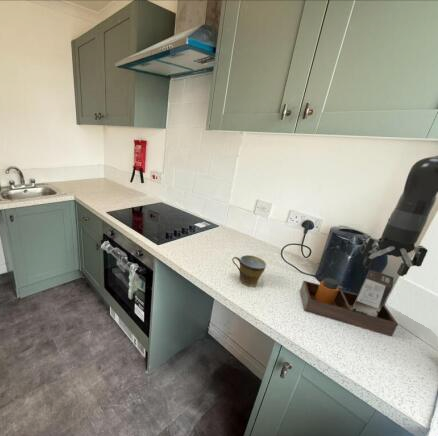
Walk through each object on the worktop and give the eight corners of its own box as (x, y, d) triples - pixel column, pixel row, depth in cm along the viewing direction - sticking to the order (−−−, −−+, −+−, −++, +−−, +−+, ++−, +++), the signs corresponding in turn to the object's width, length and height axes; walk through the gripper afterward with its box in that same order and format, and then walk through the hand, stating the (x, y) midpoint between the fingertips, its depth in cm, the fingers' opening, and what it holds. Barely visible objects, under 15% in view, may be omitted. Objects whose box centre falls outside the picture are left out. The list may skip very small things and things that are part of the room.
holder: (299, 292, 98) (303, 280, 96) (375, 313, 89) (381, 300, 87) (303, 312, 87) (308, 299, 85) (390, 338, 78) (398, 324, 76)
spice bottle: (328, 303, 91) (338, 279, 87) (332, 313, 87) (343, 287, 82) (311, 298, 93) (320, 274, 89) (314, 308, 89) (323, 282, 84)
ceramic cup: (262, 280, 104) (268, 260, 100) (258, 292, 96) (263, 271, 93) (232, 269, 111) (236, 250, 107) (225, 280, 103) (229, 259, 99)
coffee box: (371, 328, 81) (392, 288, 75) (347, 317, 85) (365, 278, 79) (375, 315, 86) (395, 277, 80) (352, 305, 91) (369, 268, 85)
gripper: (379, 224, 72) (359, 270, 78) (445, 234, 67) (418, 283, 73) (370, 216, 79) (352, 260, 85) (429, 225, 73) (405, 271, 79)
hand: (382, 271), depth 79 cm, fingers open, 8 cm apart
